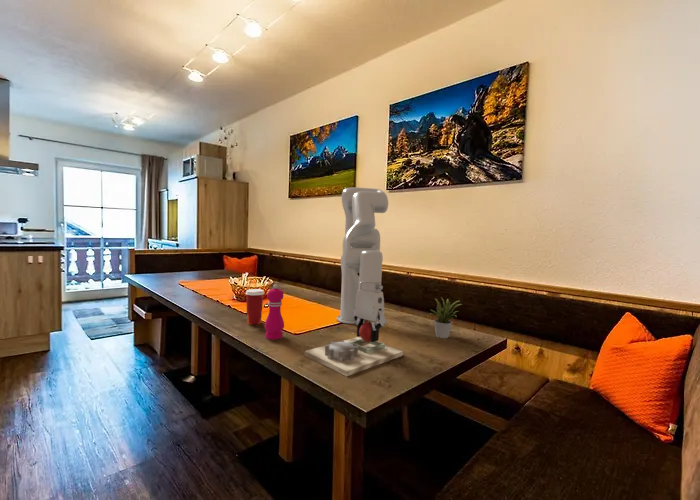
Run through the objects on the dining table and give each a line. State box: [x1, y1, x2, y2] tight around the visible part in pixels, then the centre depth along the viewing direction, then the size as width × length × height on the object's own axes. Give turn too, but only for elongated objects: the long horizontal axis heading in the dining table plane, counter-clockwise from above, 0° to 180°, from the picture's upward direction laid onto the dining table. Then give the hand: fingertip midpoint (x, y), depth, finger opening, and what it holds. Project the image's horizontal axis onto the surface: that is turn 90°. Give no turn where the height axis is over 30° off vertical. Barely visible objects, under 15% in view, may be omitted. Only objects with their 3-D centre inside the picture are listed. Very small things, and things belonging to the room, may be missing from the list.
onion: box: [359, 320, 373, 343], centre depth 118 cm, size 6×6×8 cm
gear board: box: [304, 336, 404, 377], centre depth 114 cm, size 26×20×4 cm
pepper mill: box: [264, 283, 285, 340], centre depth 129 cm, size 7×7×20 cm
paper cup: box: [245, 288, 265, 326], centre depth 146 cm, size 8×8×14 cm
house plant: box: [429, 296, 463, 339], centre depth 138 cm, size 14×14×16 cm
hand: (367, 338), depth 118 cm, fingers closed on onion, 5 cm apart
